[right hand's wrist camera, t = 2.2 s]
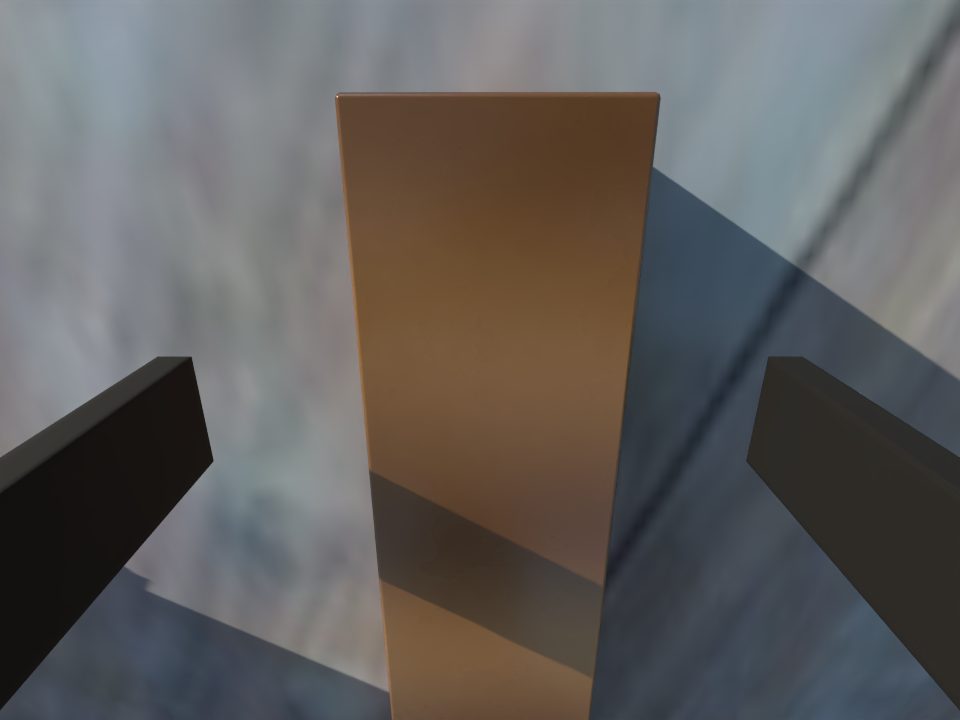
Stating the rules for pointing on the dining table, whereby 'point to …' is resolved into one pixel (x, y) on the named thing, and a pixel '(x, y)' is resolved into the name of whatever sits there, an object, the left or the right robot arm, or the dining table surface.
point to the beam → (494, 380)
